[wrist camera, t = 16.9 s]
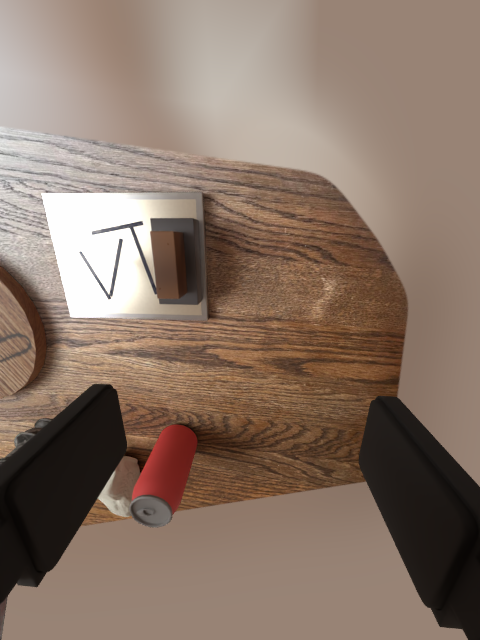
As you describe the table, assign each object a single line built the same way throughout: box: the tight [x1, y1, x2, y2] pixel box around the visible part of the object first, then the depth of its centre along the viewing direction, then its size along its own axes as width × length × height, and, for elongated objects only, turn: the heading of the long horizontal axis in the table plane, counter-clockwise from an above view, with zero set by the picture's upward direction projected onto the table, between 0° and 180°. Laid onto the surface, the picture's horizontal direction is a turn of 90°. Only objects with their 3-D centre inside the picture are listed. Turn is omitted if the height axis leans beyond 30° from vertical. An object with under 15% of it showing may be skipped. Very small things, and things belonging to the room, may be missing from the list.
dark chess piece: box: [0, 418, 52, 465], centre depth 36 cm, size 6×6×12 cm
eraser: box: [150, 218, 202, 305], centre depth 27 cm, size 10×5×6 cm, turn 0°
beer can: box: [129, 424, 198, 527], centre depth 35 cm, size 7×7×12 cm
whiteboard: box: [41, 192, 209, 321], centre depth 31 cm, size 20×16×1 cm
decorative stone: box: [98, 456, 140, 517], centre depth 41 cm, size 11×9×10 cm
